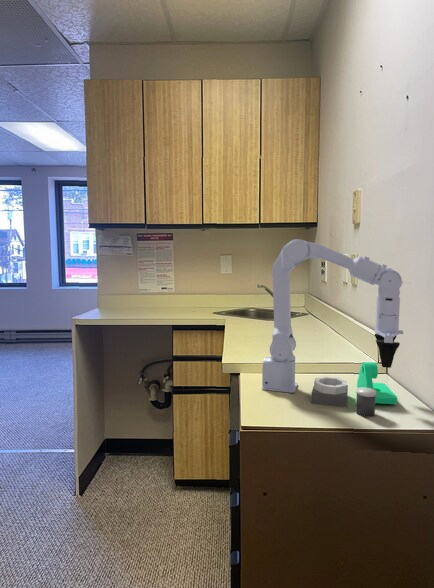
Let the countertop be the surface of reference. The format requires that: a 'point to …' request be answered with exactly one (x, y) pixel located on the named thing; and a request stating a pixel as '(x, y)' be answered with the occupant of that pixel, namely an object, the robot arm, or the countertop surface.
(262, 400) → the countertop surface
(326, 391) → the square octagon-collar plate
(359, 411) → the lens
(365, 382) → the camera mount
